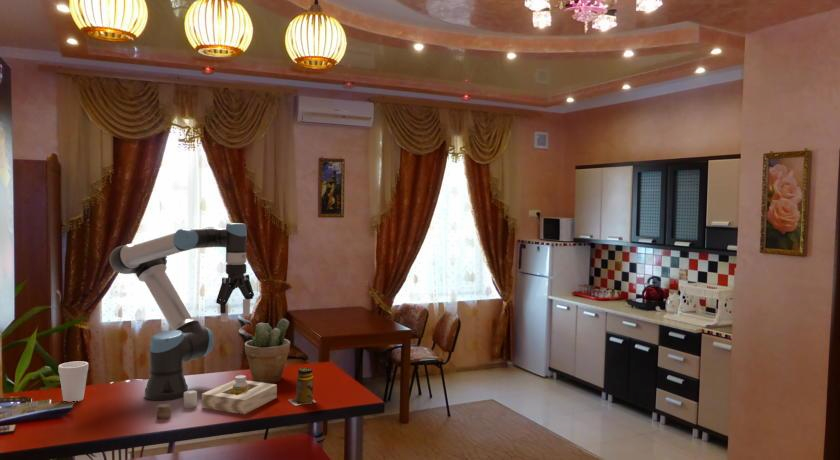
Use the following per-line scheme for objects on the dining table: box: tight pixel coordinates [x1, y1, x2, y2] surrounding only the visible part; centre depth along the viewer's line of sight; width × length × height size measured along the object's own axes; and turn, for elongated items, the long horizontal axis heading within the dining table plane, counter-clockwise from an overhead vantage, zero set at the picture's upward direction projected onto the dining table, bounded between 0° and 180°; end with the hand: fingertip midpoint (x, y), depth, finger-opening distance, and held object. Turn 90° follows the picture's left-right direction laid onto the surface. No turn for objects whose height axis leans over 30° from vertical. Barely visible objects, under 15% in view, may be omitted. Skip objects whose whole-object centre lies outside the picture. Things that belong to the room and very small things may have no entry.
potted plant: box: [244, 318, 291, 384], centre depth 251 cm, size 18×19×25 cm
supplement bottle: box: [233, 374, 248, 395], centre depth 222 cm, size 5×5×10 cm
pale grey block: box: [183, 389, 198, 409], centre depth 217 cm, size 4×4×5 cm
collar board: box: [201, 379, 278, 415], centre depth 222 cm, size 18×20×5 cm
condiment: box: [288, 367, 317, 406], centre depth 224 cm, size 7×8×12 cm
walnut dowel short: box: [156, 403, 172, 420], centre depth 205 cm, size 4×4×4 cm
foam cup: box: [57, 360, 89, 403], centre depth 221 cm, size 10×9×13 cm
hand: (235, 318), depth 232 cm, fingers open, 13 cm apart
